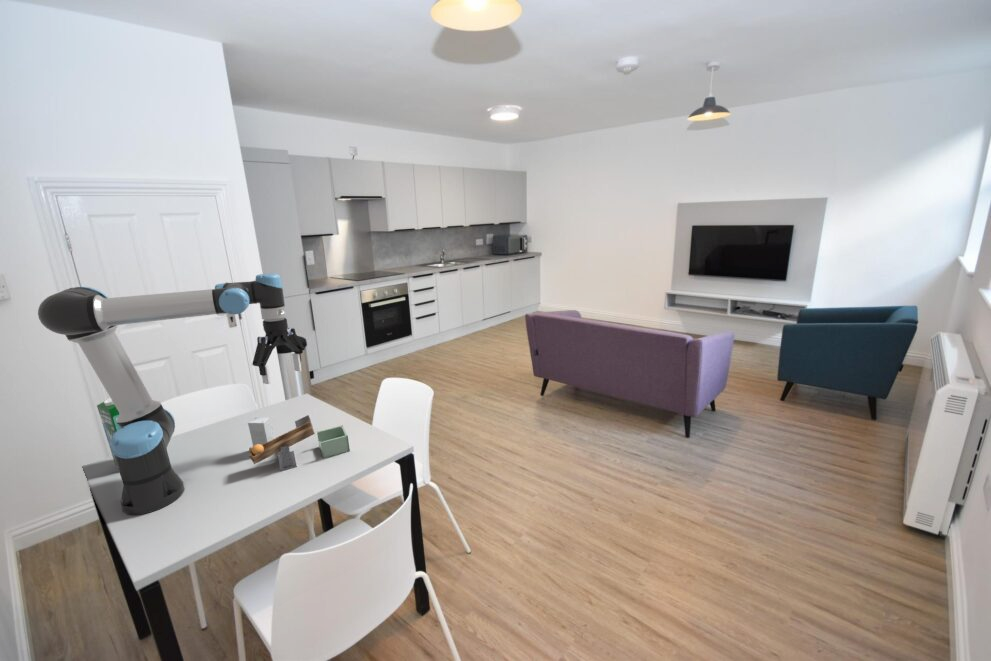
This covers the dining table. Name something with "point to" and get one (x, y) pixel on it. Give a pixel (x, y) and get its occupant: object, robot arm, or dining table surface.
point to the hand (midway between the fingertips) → (283, 376)
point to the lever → (285, 439)
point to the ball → (257, 449)
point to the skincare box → (261, 430)
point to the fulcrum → (286, 458)
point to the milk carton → (109, 419)
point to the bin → (333, 441)
